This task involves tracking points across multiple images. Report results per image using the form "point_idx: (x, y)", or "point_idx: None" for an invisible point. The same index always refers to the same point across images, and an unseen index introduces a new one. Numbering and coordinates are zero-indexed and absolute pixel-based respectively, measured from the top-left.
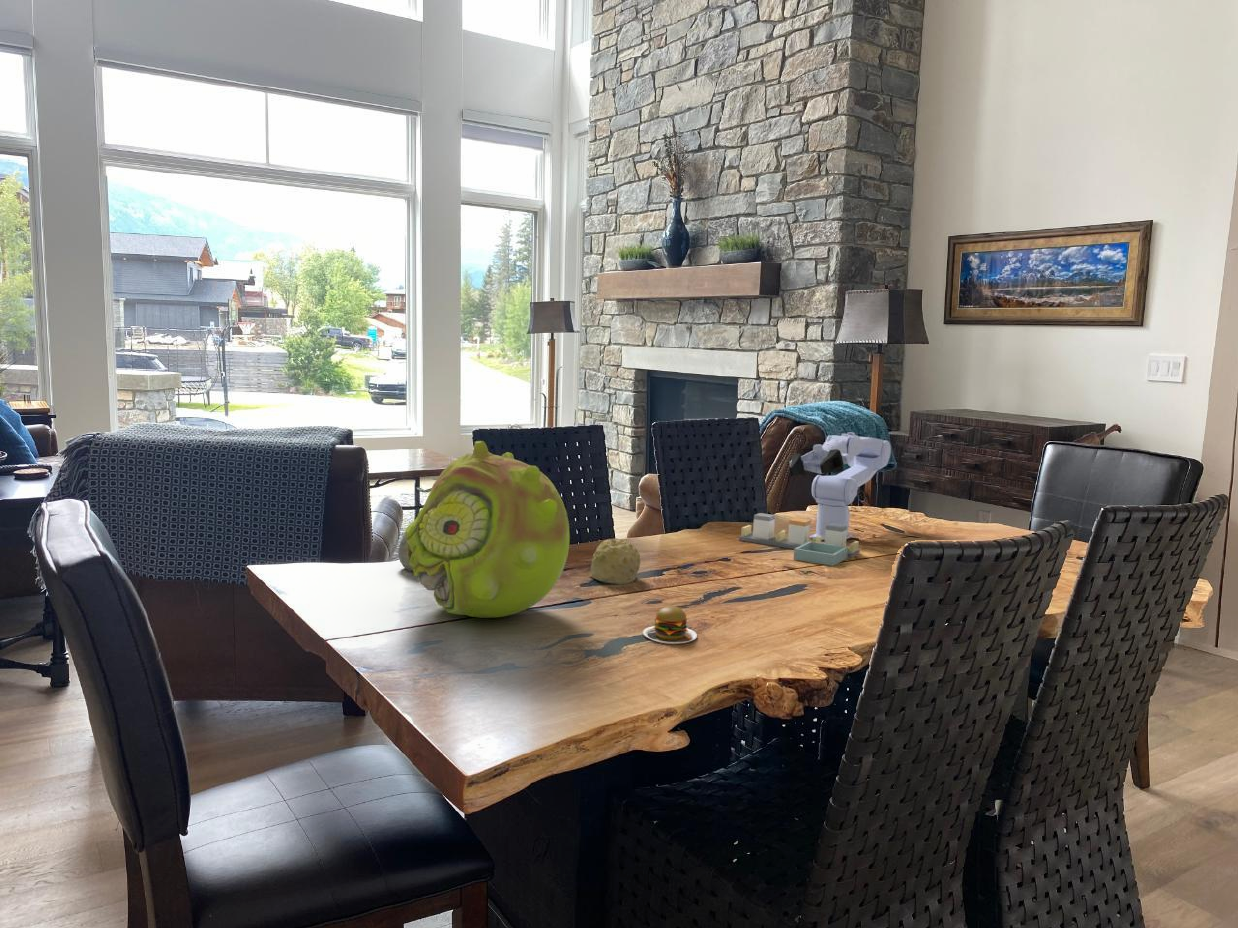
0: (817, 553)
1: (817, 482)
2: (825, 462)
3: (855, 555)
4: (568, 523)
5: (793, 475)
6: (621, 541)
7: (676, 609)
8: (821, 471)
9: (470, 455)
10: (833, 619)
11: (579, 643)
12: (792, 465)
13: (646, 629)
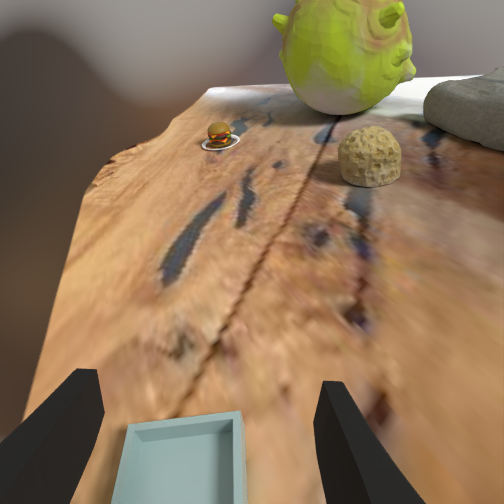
0: (175, 420)
1: None
2: (44, 406)
3: None
4: (297, 48)
5: (314, 424)
6: (362, 132)
7: (212, 124)
8: (101, 403)
9: None
10: (112, 216)
11: (258, 120)
12: (337, 403)
13: (238, 138)
